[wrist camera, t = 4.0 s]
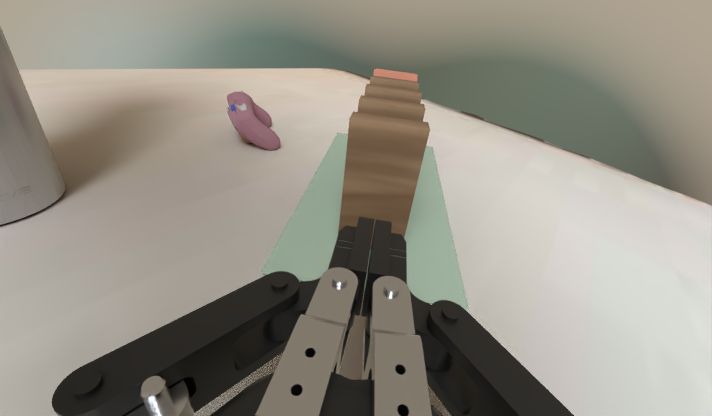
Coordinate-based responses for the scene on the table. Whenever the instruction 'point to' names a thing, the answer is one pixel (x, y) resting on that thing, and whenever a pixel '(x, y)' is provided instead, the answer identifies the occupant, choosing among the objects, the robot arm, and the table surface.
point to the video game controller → (251, 121)
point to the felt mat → (318, 238)
